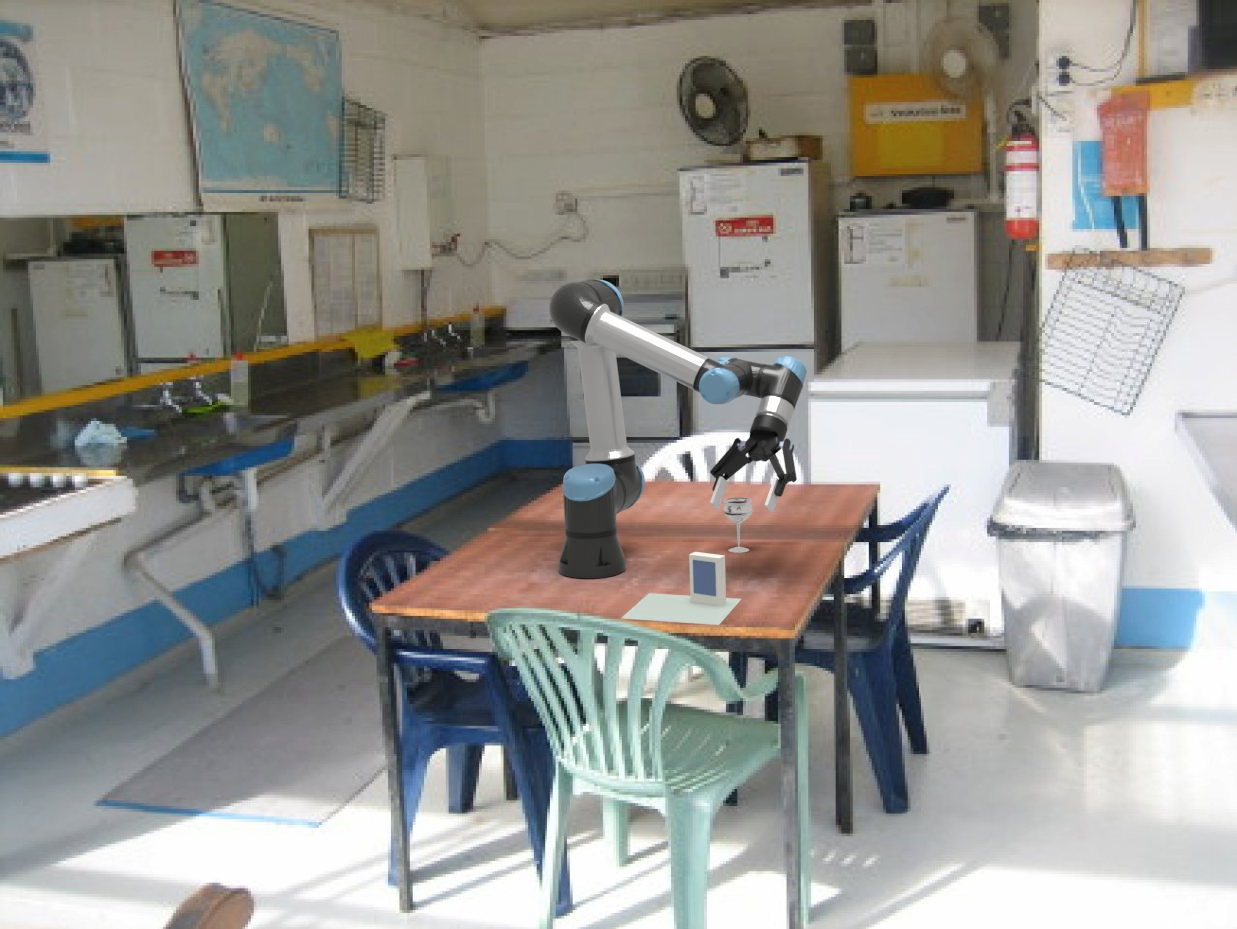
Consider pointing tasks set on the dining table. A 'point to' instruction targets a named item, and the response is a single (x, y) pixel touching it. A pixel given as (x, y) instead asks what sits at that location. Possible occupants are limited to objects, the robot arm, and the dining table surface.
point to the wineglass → (738, 516)
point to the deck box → (707, 578)
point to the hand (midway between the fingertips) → (741, 507)
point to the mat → (679, 610)
